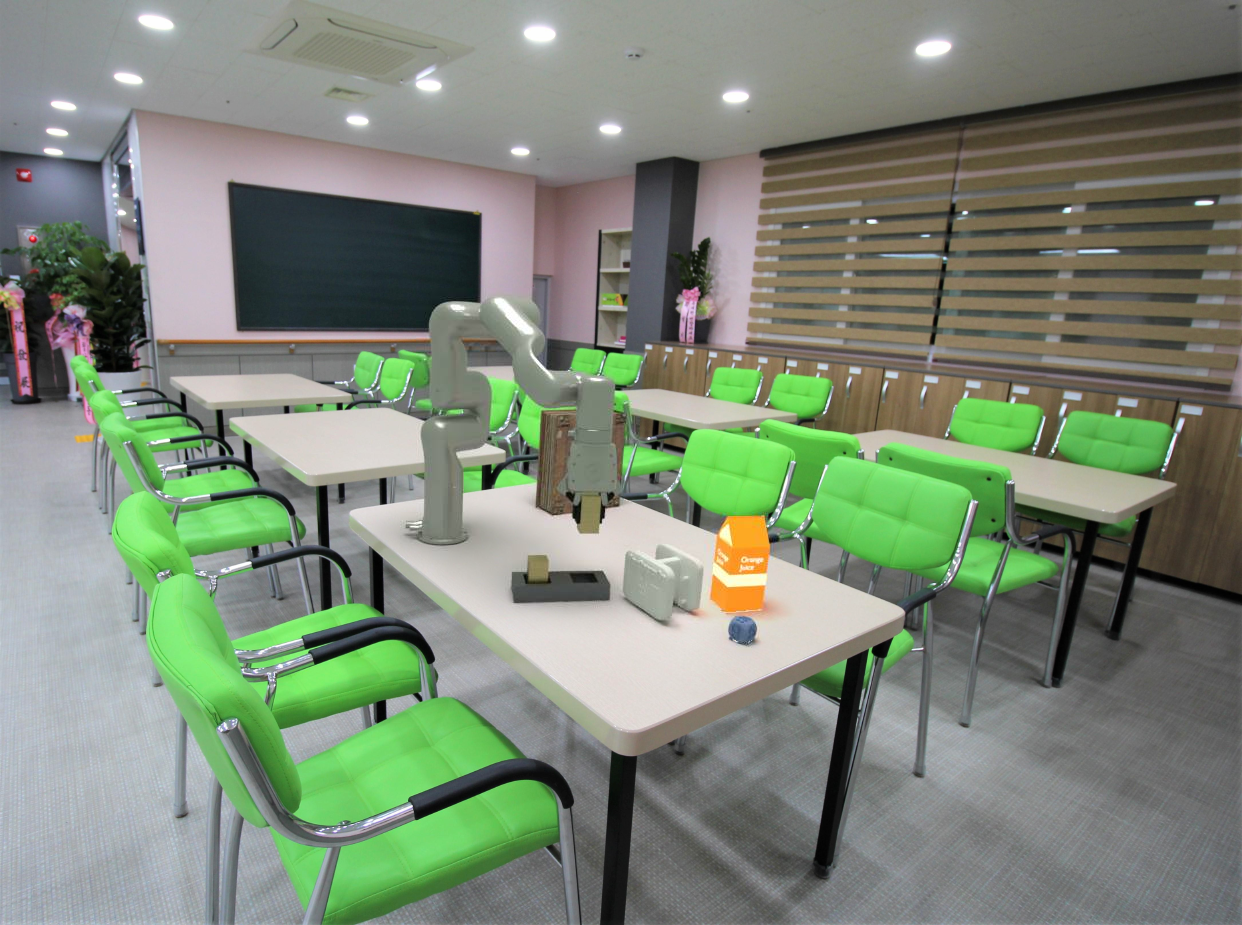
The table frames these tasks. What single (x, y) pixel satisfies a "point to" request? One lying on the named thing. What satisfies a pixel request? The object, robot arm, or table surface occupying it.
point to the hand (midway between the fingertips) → (588, 521)
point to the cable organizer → (663, 580)
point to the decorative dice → (742, 629)
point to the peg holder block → (557, 583)
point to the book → (566, 457)
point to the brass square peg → (589, 513)
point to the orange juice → (740, 564)
